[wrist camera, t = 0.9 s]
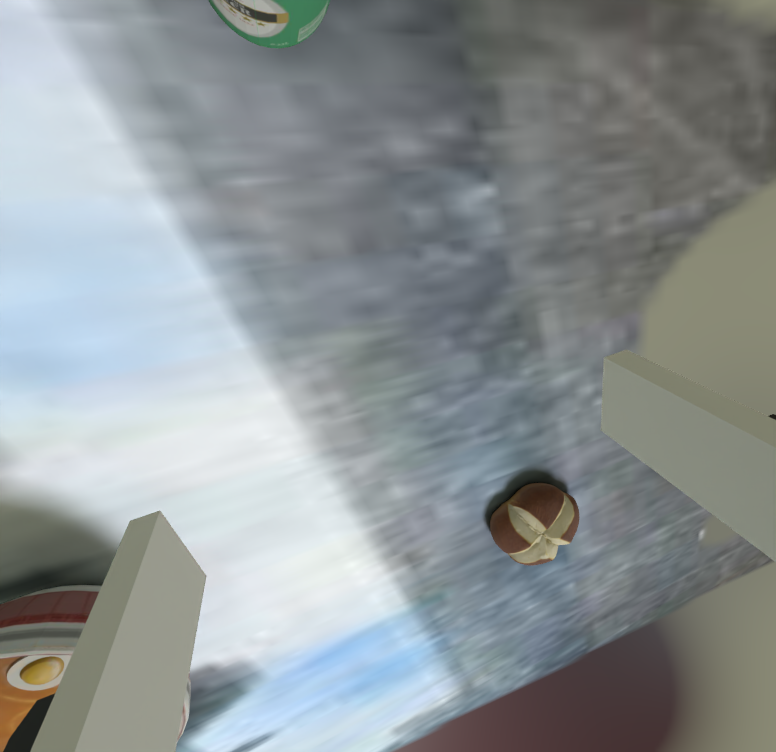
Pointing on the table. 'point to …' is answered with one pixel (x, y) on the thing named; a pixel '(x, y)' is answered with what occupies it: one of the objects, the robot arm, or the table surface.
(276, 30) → the beverage can
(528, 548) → the bread
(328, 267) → the table surface
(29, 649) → the bowl
